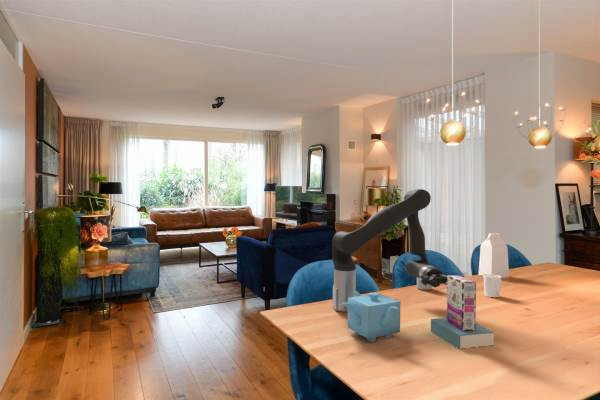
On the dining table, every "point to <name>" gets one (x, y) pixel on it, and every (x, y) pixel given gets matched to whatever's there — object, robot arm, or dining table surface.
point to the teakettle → (373, 315)
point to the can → (421, 286)
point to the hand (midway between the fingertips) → (447, 284)
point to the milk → (494, 256)
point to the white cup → (492, 285)
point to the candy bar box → (461, 302)
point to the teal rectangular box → (461, 334)
